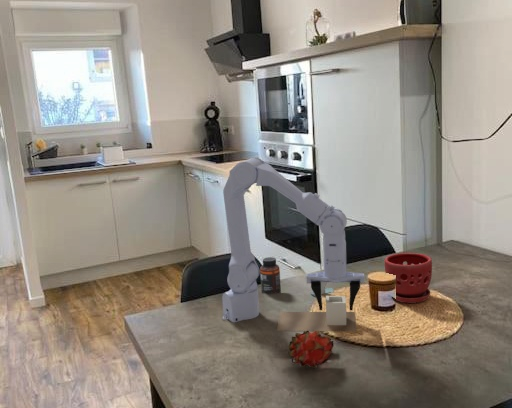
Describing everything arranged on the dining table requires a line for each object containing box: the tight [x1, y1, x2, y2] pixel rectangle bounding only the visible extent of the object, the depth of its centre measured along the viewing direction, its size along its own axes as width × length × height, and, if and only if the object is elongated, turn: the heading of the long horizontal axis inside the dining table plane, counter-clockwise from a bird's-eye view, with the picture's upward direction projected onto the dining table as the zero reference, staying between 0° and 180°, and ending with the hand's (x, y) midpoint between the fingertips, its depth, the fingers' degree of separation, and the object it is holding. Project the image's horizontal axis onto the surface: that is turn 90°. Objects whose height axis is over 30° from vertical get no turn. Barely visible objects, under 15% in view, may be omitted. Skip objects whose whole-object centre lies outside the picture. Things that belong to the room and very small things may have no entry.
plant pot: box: [384, 252, 433, 304], centre depth 153 cm, size 13×13×12 cm
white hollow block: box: [325, 295, 347, 325], centre depth 137 cm, size 5×5×6 cm
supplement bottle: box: [259, 256, 282, 294], centre depth 162 cm, size 6×6×11 cm
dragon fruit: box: [287, 331, 334, 369], centre depth 119 cm, size 8×8×12 cm
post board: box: [276, 301, 358, 332], centre depth 138 cm, size 20×12×6 cm, turn 83°
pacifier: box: [310, 282, 334, 297], centre depth 158 cm, size 7×6×6 cm
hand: (335, 308), depth 137 cm, fingers open, 7 cm apart
